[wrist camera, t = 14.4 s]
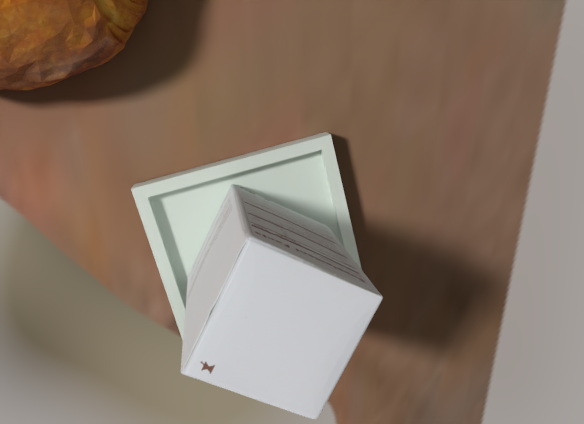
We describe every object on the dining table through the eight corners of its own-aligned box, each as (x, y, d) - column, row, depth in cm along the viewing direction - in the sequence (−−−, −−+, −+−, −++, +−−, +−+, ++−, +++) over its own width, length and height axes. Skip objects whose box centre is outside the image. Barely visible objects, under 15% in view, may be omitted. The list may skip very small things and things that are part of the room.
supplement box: (282, 316, 39) (316, 428, 27) (184, 275, 37) (173, 376, 25) (331, 224, 38) (389, 298, 26) (232, 178, 36) (245, 234, 24)
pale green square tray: (133, 184, 36) (131, 188, 34) (326, 132, 37) (331, 134, 35) (192, 356, 39) (191, 367, 38) (366, 305, 40) (371, 313, 39)
